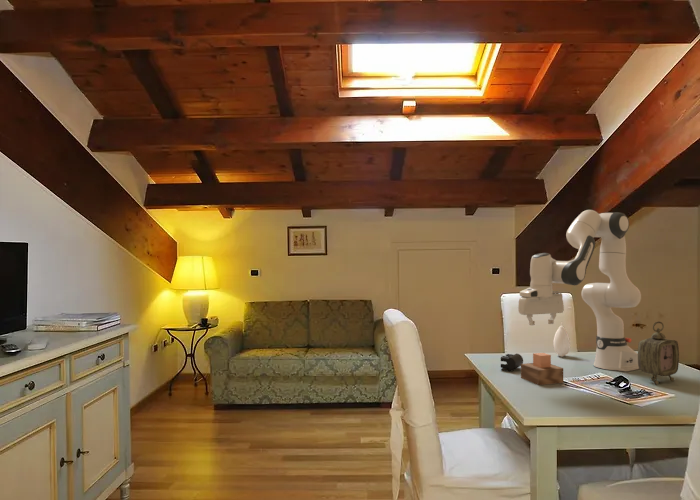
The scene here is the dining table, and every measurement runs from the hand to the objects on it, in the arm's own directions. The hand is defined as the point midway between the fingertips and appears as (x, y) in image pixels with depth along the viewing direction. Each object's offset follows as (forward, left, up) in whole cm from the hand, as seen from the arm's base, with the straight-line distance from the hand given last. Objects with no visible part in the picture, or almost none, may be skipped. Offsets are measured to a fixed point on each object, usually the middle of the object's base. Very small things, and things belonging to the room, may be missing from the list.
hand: (541, 324), depth 216 cm
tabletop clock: (-44, +17, -24) cm, 53 cm away
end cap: (+1, -20, -24) cm, 31 cm away
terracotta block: (0, 0, -18) cm, 18 cm away
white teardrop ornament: (-39, -36, -24) cm, 58 cm away
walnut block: (0, 0, -24) cm, 24 cm away
